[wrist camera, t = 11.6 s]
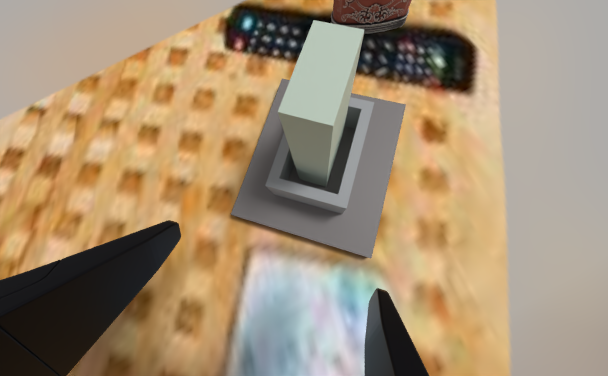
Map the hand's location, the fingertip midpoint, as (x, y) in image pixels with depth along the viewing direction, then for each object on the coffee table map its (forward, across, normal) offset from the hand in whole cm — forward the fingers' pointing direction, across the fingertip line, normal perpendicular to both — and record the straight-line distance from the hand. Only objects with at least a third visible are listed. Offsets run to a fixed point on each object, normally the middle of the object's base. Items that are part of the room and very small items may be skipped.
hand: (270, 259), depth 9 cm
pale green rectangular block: (+12, 0, 0) cm, 12 cm away
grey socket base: (+12, 0, +1) cm, 12 cm away
